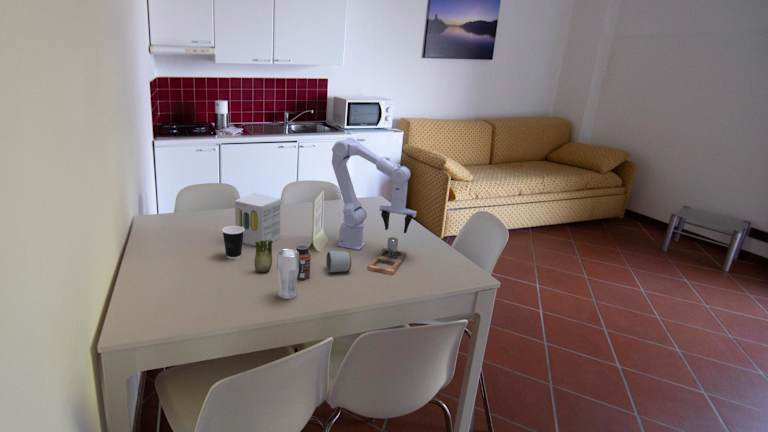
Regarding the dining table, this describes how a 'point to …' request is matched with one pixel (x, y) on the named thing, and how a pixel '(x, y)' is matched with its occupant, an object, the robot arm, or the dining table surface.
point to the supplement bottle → (303, 262)
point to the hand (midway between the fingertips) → (396, 230)
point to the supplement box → (258, 218)
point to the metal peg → (392, 247)
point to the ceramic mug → (338, 261)
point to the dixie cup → (233, 241)
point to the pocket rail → (386, 262)
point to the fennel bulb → (263, 256)
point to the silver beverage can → (287, 272)
